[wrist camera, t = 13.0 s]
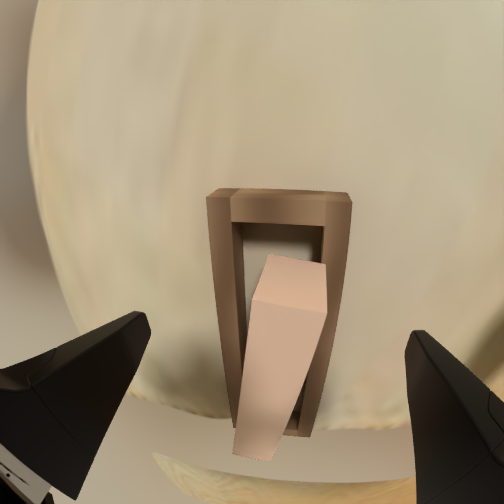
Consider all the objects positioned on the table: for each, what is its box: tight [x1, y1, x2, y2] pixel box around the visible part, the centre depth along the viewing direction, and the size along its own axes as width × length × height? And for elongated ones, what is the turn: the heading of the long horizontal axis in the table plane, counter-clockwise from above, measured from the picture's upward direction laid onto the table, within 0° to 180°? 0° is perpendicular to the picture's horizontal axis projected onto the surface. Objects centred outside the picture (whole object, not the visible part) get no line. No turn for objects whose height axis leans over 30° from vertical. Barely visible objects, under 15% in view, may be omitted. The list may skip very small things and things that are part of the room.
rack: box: [206, 188, 352, 437], centre depth 22 cm, size 8×25×2 cm, turn 1°
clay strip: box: [233, 254, 327, 462], centre depth 19 cm, size 4×18×5 cm, turn 174°
